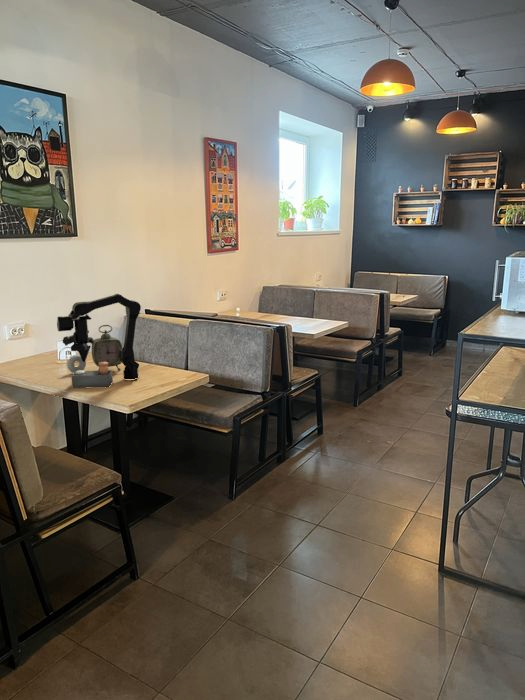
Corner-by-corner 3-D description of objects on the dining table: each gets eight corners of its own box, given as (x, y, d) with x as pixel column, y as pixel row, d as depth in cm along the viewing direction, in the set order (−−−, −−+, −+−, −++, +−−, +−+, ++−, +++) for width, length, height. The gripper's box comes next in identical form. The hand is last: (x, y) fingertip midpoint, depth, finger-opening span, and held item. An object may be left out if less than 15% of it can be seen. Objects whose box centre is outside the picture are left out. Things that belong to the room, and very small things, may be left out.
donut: (70, 375, 263) (68, 356, 261) (66, 374, 266) (65, 355, 264) (87, 371, 271) (86, 353, 269) (84, 370, 273) (83, 352, 271)
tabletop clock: (95, 374, 265) (92, 327, 260) (92, 370, 273) (89, 324, 268) (123, 371, 272) (121, 325, 267) (119, 367, 280) (117, 322, 274)
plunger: (86, 381, 248) (86, 370, 247) (84, 383, 244) (83, 372, 243) (77, 381, 248) (76, 370, 247) (75, 384, 243) (74, 372, 242)
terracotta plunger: (109, 372, 248) (108, 361, 247) (107, 375, 244) (107, 363, 243) (100, 373, 248) (99, 361, 247) (98, 375, 244) (97, 364, 242)
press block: (112, 382, 252) (112, 370, 251) (109, 387, 243) (108, 375, 242) (77, 382, 250) (76, 371, 249) (72, 388, 241) (71, 375, 240)
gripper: (69, 326, 249) (71, 357, 252) (57, 333, 231) (60, 367, 234) (92, 325, 250) (94, 356, 253) (83, 333, 232) (85, 366, 235)
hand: (83, 361), depth 244 cm, fingers closed
